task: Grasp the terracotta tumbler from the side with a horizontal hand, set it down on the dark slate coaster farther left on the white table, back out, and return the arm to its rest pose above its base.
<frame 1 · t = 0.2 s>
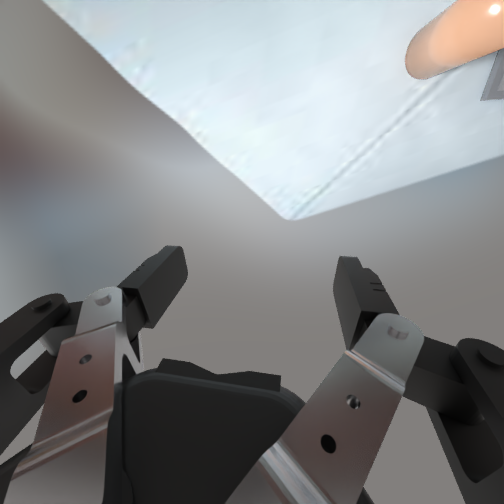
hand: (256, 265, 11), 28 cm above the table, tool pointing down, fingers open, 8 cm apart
tumbler: (430, 51, 27), on the table
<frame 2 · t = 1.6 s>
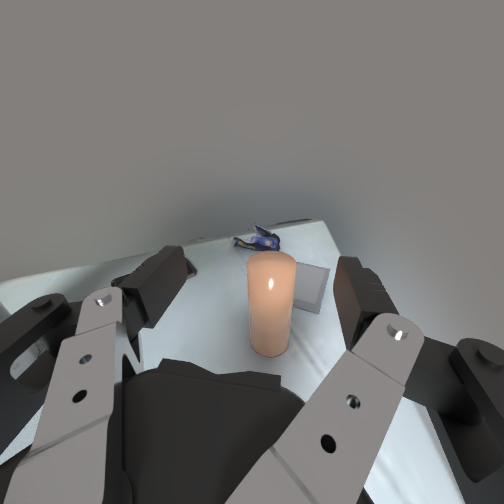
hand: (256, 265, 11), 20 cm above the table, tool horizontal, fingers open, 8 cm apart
snack package: (258, 247, 54), on the table
coaster: (292, 283, 41), on the table
tumbler: (269, 339, 31), on the table
phone: (156, 281, 44), on the table
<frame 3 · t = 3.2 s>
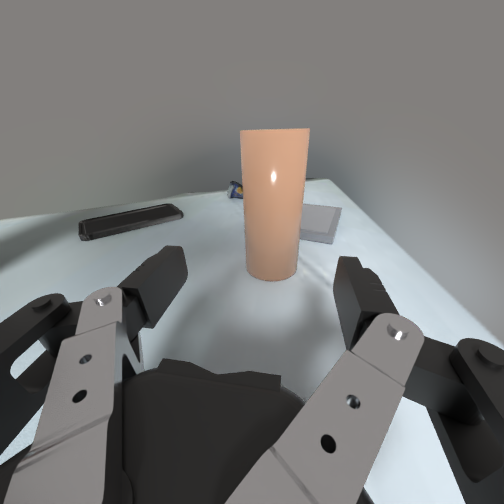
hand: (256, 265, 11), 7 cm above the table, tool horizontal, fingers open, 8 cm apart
snack package: (258, 199, 47), on the table
coaster: (297, 221, 34), on the table
tumbler: (271, 265, 24), on the table
phone: (135, 224, 37), on the table
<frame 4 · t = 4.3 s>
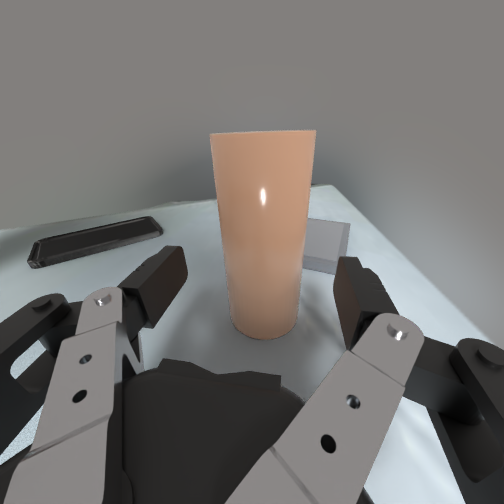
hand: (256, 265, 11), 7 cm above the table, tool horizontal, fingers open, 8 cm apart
coaster: (297, 240, 29), on the table
tumbler: (263, 311, 18), on the table
phone: (104, 243, 31), on the table
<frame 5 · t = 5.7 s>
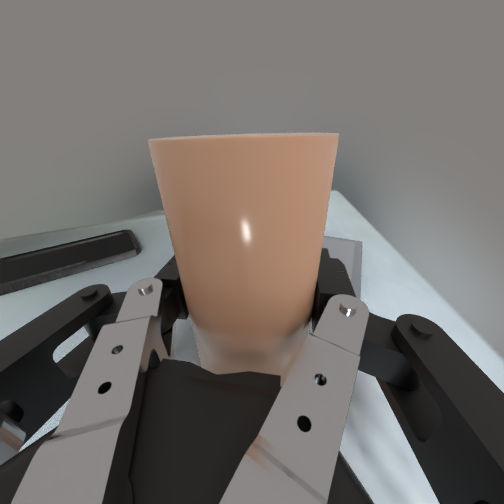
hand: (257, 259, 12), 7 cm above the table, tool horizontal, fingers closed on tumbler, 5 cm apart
coaster: (299, 263, 24), on the table
tumbler: (253, 379, 13), on the table, touching gripper
phone: (71, 264, 26), on the table
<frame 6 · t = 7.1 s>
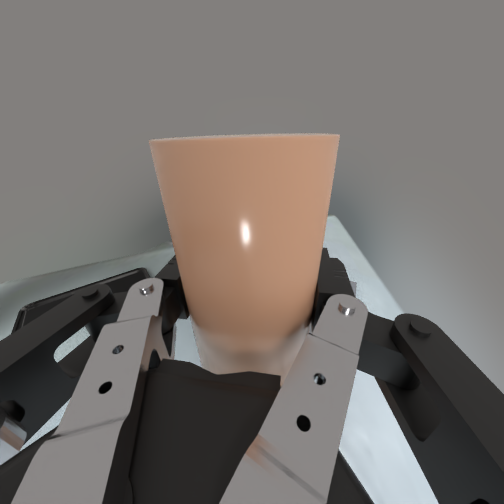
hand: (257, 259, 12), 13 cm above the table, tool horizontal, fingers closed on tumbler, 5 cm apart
tumbler: (253, 379, 13), point 6 cm above the table, touching gripper
phone: (94, 305, 29), on the table
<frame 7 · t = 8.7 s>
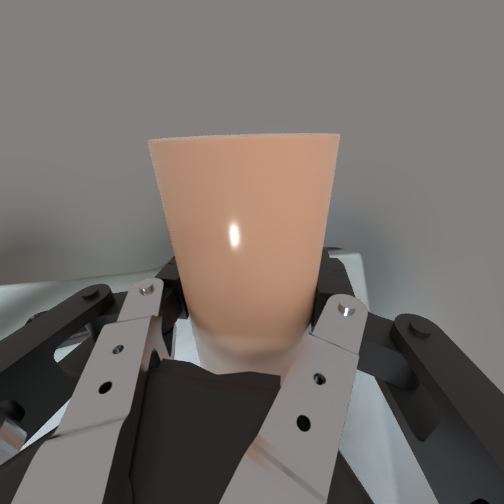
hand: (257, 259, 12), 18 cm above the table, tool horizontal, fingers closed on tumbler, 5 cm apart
tumbler: (253, 380, 13), point 11 cm above the table, touching gripper
phone: (86, 324, 32), on the table
when the fingers open (9 cm above the table, at t = 11.4 s): tumbler drops 1 cm, resting on coaster.
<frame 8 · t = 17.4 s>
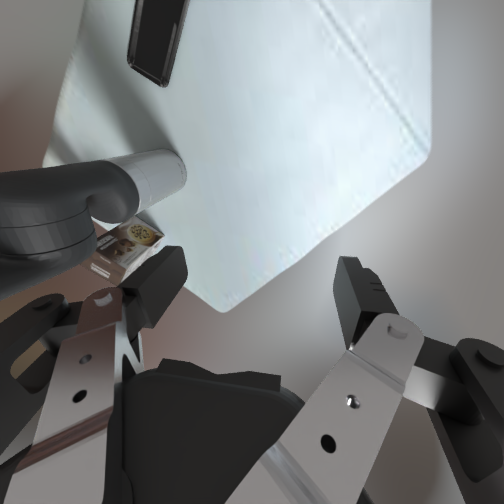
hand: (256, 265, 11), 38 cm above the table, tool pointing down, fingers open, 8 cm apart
phone: (160, 29, 37), on the table
coffee box: (146, 233, 58), on the table
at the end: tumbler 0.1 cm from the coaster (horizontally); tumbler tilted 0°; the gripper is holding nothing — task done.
